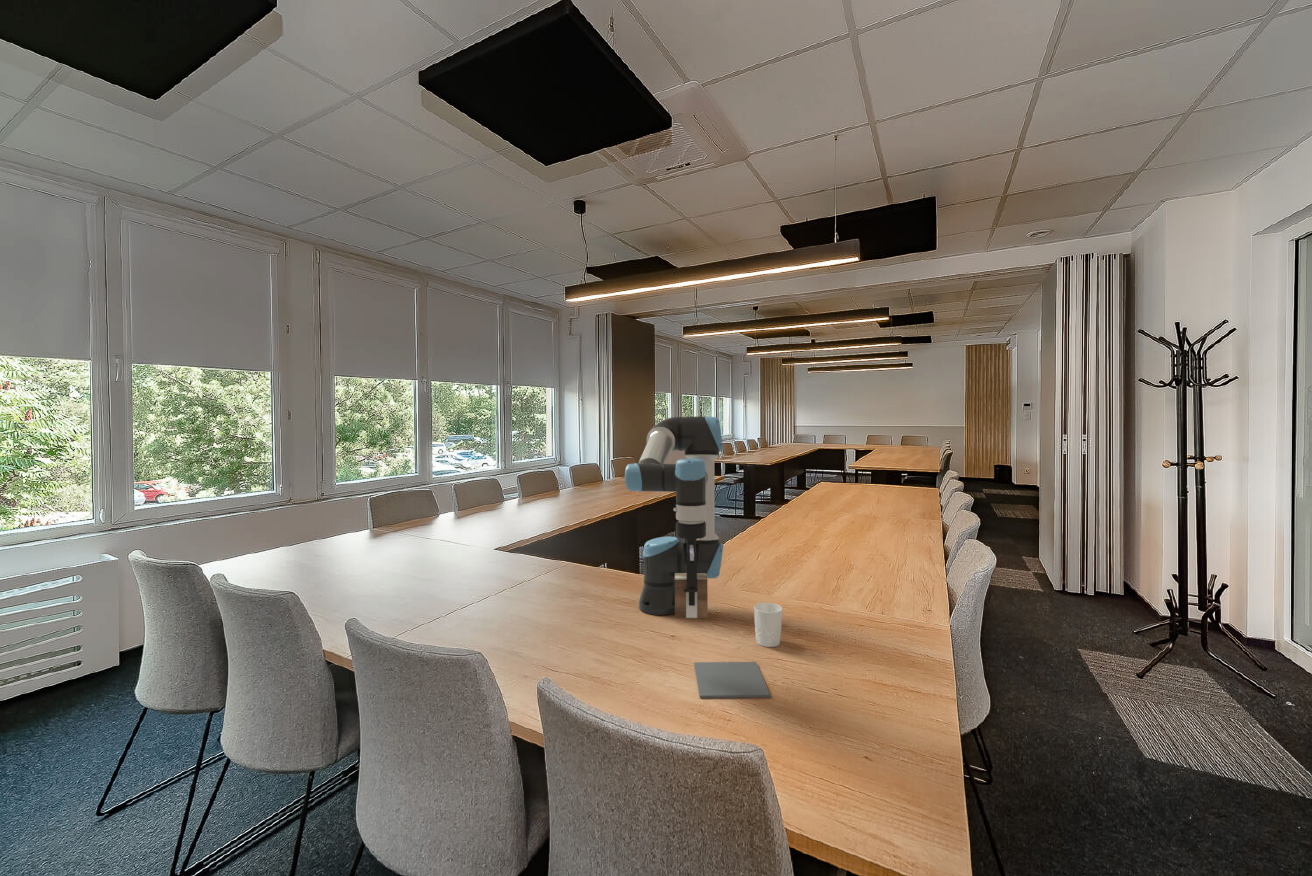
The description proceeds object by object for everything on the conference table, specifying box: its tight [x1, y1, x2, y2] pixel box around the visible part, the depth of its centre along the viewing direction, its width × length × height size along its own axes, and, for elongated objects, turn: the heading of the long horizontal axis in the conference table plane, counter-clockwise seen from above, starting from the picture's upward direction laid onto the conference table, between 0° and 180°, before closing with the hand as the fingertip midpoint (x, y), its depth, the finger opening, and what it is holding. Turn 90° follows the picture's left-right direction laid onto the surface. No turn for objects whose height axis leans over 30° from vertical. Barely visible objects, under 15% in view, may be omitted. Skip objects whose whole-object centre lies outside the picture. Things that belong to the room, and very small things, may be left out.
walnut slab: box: [674, 573, 709, 619], centre depth 128 cm, size 4×8×10 cm, turn 88°
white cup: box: [753, 602, 783, 648], centre depth 145 cm, size 8×8×10 cm
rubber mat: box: [693, 661, 771, 699], centre depth 124 cm, size 16×16×1 cm
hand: (691, 613), depth 128 cm, fingers closed on walnut slab, 4 cm apart
